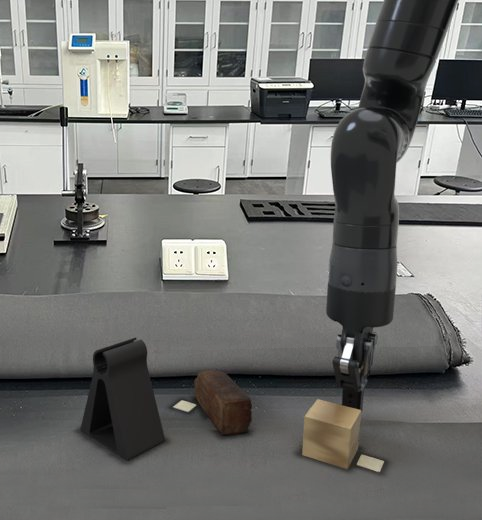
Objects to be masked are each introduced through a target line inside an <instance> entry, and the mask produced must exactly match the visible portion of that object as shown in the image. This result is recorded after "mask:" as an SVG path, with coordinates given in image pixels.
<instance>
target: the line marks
mask: <svg viewBox="0 0 482 520" xmlns="http://www.w3.org/2000/svg"><path fill="white" fill-rule="evenodd" d="M195 407H197V404H196V403H192V402H189V401H186V400H183V399H182V400H180V401H179V402H177V403H176V404H175V405H174V406H172V408H174V409H177V410H179V411H183V412H185V413H189V412H190V411H192V410H193V409H195ZM384 463H385V461H384V460H381V459H378V458H375V457H372V456H368V455H365V454H360V457H359V459H358V460H357V463H356V466H358V467H362V468H365V469H368V470H371V471H374V472H377V473H380V472H381V470H382V468H383V466H384Z"/></svg>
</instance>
